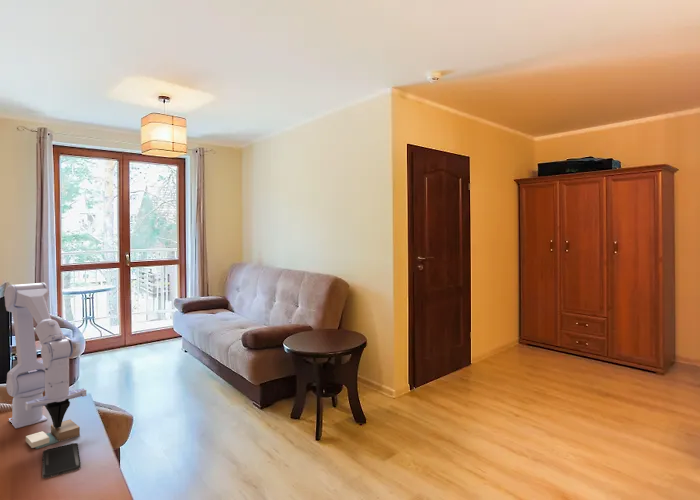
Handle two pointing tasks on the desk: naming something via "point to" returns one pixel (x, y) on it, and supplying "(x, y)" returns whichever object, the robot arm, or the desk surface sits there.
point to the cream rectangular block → (37, 439)
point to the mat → (51, 441)
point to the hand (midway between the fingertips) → (57, 426)
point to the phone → (60, 460)
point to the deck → (65, 430)
